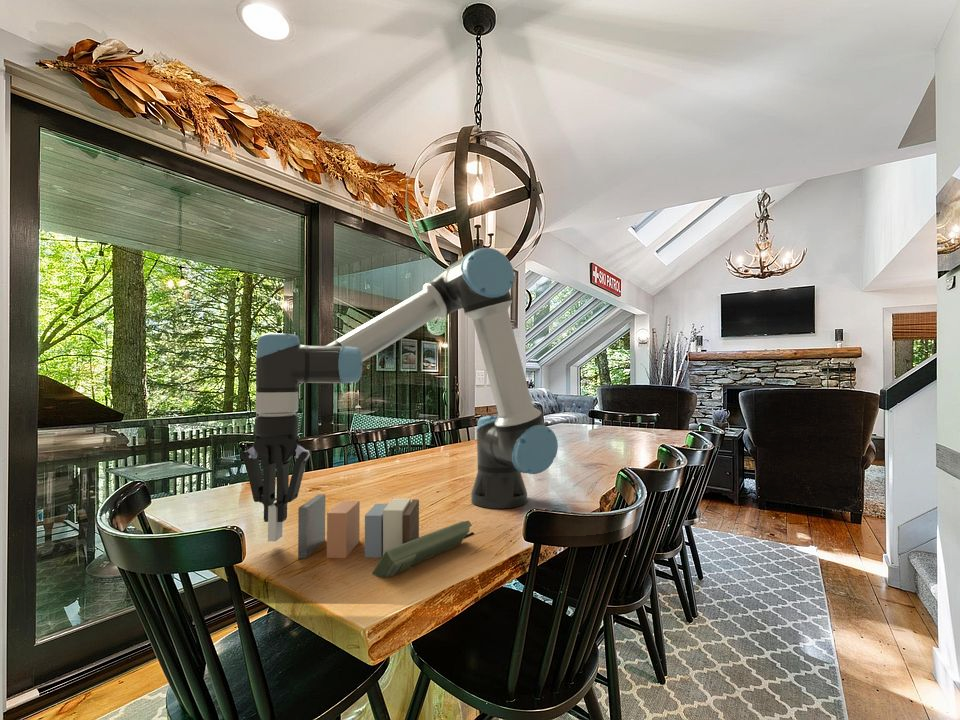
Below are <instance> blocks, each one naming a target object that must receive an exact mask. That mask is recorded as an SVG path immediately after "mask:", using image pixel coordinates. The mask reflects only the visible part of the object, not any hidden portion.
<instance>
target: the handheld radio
mask: <svg viewBox="0 0 960 720" xmlns="http://www.w3.org/2000/svg"><path fill="white" fill-rule="evenodd" d="M471 527H473V525H472V523H471V522H470V520H465V521H464V520H462V521H458V522H457V523H454V524H451V525H449V526H446V527H443V528H441V529H438V530H435V531H433V532H431V533H427V534H424V535H422V536H419V538H417V539H414V540H411V541H409V542H406V543H404V544H401V545H398V546H396V547H393V548H391V549H388V550H386V551H385V553H384V555H382V557H380V559H379V561H378V563H377V565H376V566H375V568H374V570H373V571H372V575H375V576H377V577H379V578H391V577H393V576H395V575H397V574H399V573H401V572H404V571H406V570H408V569H410V567H412V566H414V565H416V564H418V563H421V562H423V561H425V560H427V559H429V558H431V557H434V556H437V555H438V554H441V553H443V552H445V551H447V550H448V551H449V550H450V549H452V548H455V547H456V546H459V545H461V543H462V542H463V541H464V540H465V539H466V538H469V537H472V536H474V535H475V534H476V533H475V532H470V528H471ZM469 532H470V533H469Z"/></svg>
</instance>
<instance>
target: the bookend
mask: <svg viewBox="0 0 960 720" xmlns="http://www.w3.org/2000/svg"><path fill="white" fill-rule="evenodd" d="M297 514H298V517H297V518H298V523H297V525H298V526H297V527H298V528H297V529H298V530H297V531H298V532H297V538H298V539H297V546H298V547H297V549H298V550H297V554H298V555H297V558H298V559H307V558H308V557H309V556H310V555H312V553H314V552H315V551H316V550H317V549H318V548H319V547H320V546H321V545H322V543H324V542H325V541H326V494H319V493H318V494H316V495H314V496H313V497H312V498H310V499H309V500H308V501H306V502H305V503H304V504H302V505H300V506H299V507H298V513H297Z"/></svg>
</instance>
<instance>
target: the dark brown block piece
mask: <svg viewBox="0 0 960 720" xmlns="http://www.w3.org/2000/svg"><path fill="white" fill-rule="evenodd" d="M419 537H420V499H414V498H413V499H411V503H410V505H409V506H408V508H407V510H406V511H405V513H404V514H403V544H404V543H406V542H409V541H411V540H414V539H417V538H419Z"/></svg>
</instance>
